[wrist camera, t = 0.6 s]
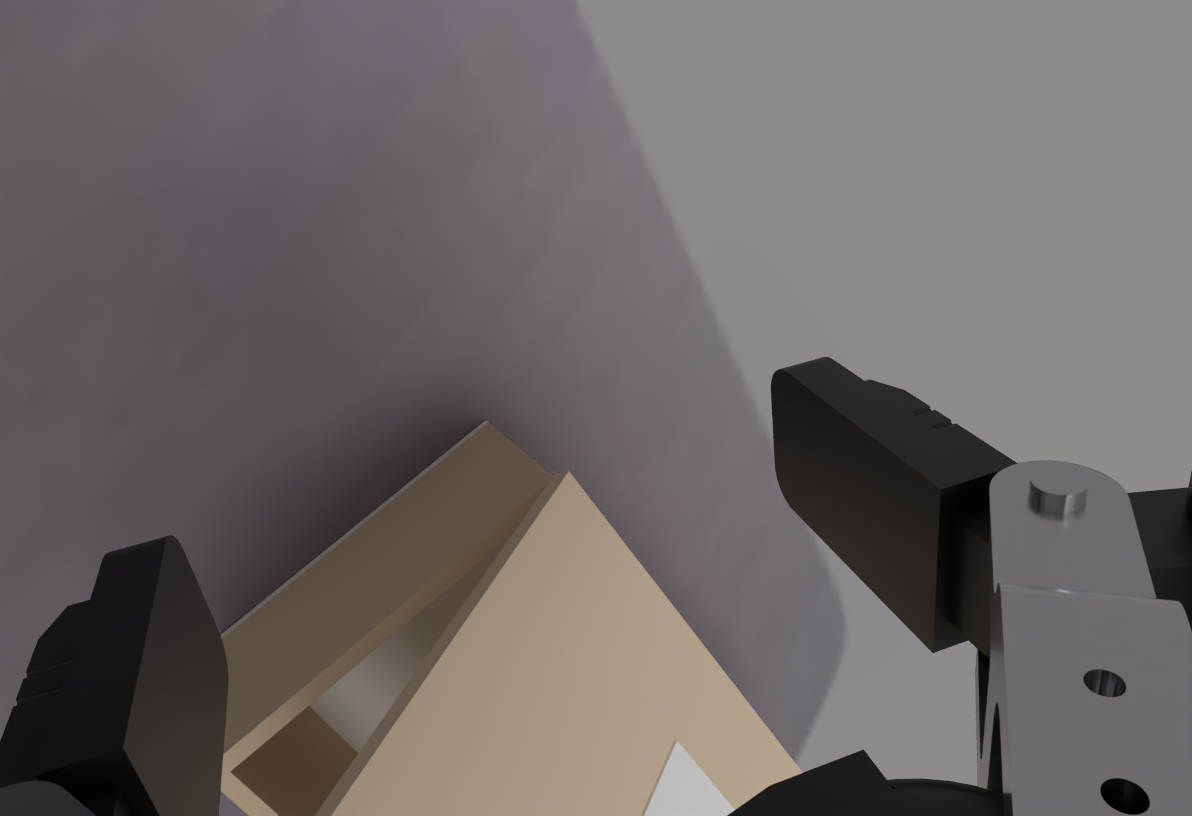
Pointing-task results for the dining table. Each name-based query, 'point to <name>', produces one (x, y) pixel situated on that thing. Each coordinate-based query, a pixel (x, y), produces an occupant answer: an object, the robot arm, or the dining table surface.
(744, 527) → the dining table surface
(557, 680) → the lid
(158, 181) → the dining table surface
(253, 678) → the mailer box
